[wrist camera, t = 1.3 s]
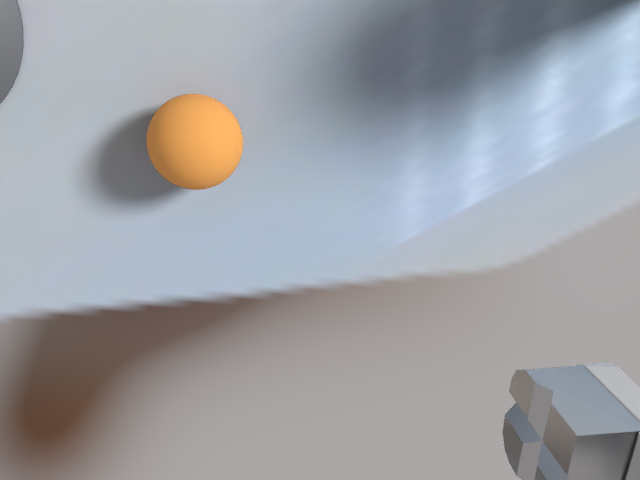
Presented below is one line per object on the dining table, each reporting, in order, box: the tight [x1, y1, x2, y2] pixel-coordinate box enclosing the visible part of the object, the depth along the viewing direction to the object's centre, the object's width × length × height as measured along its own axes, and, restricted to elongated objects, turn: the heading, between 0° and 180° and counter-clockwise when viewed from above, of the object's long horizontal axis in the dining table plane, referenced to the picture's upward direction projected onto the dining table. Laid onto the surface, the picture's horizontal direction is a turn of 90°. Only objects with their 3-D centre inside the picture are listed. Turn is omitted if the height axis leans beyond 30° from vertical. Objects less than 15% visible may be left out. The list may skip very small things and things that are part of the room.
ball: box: [146, 94, 243, 189], centre depth 33 cm, size 6×6×6 cm
